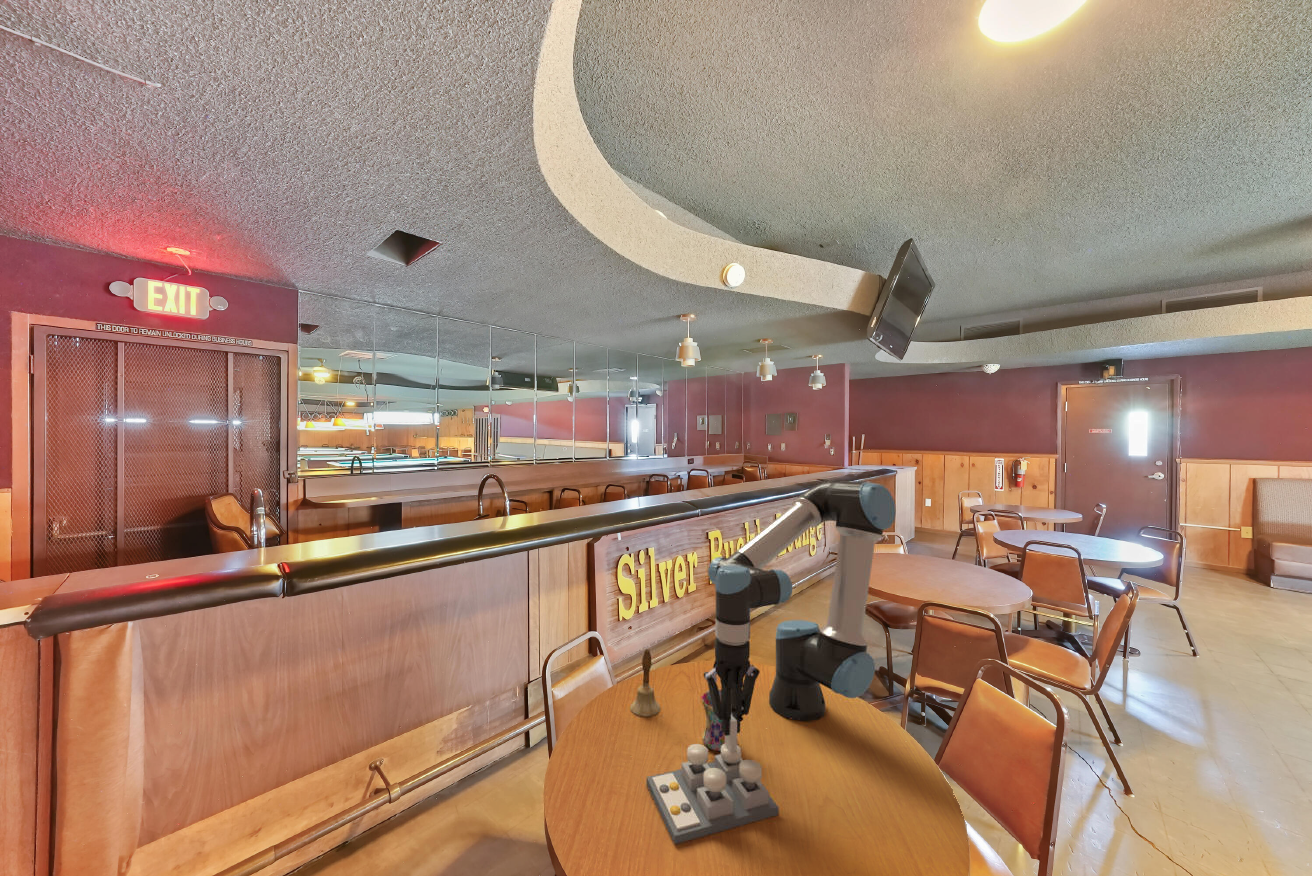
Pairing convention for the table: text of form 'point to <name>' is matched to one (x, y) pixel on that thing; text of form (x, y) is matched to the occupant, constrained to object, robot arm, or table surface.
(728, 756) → the button
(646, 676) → the hand bell
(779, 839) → the table surface
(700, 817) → the board
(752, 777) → the button
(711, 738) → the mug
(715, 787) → the button
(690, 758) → the button
